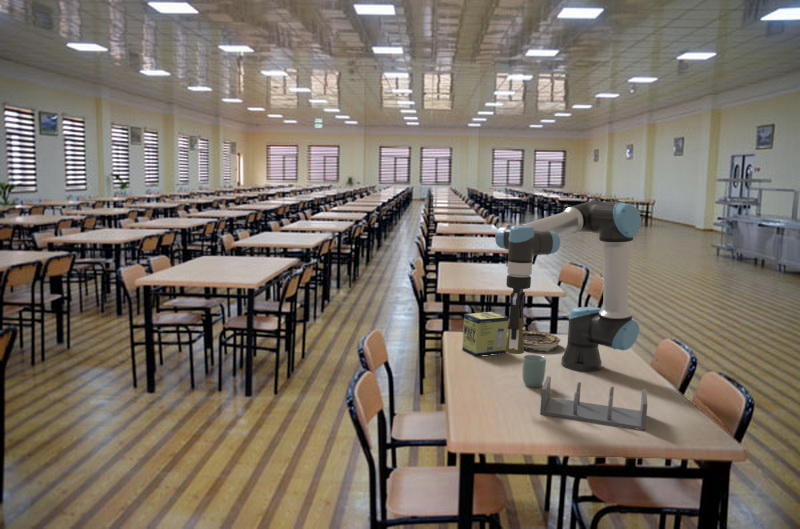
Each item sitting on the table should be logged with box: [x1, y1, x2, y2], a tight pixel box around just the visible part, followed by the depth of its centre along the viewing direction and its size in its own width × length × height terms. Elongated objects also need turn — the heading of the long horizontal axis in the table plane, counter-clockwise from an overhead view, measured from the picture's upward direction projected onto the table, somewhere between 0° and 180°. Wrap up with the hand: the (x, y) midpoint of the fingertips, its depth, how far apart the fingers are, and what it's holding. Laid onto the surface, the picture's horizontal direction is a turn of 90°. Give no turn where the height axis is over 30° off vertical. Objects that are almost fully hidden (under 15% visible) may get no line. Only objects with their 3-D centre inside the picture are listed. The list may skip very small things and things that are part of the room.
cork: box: [505, 317, 525, 355], centre depth 206 cm, size 6×6×11 cm
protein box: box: [461, 311, 509, 357], centre depth 266 cm, size 10×16×16 cm
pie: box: [522, 330, 562, 352], centre depth 279 cm, size 28×27×5 cm
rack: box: [539, 375, 648, 430], centre depth 201 cm, size 30×14×8 cm, turn 71°
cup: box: [521, 354, 547, 388], centre depth 226 cm, size 8×8×10 cm
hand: (514, 346), depth 207 cm, fingers closed on cork, 4 cm apart
